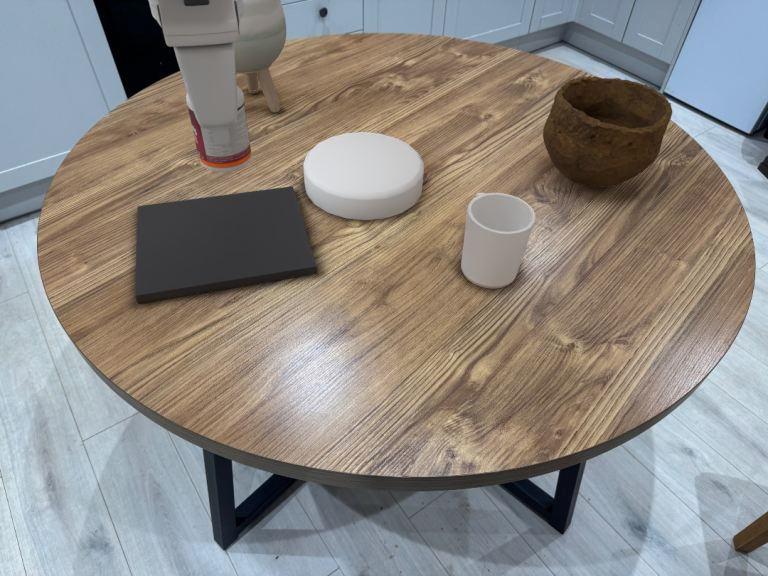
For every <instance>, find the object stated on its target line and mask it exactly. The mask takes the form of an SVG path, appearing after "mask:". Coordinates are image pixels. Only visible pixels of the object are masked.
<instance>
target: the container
mask: <svg viewBox="0 0 768 576" xmlns="http://www.w3.org/2000/svg"><path fill="white" fill-rule="evenodd" d="M302 166H303V167H302V169H303V181H304V188H305V193H306V196H307V197H308V198H309V200H310V201H311V202H312V203H313V205H315V206H316V207H318V208H319V209H321V210H323V211H324V212H326V213H327V214H330V215H333V216H336V217H340V218H343V219H347V220H350V219H351V220H357V221H373V220H374V221H375V220H383V219H387V218H390V217H394V216H397V215H400V214H403V213H404V212H406V211H407V210H409V209H410V208H412V207H413V206H415V205H416V203H417V202H418V201H419V199H420V197H421V196H422V191H423V183H424V175H425V163H424V161H423V159H422V156H421V155H420V153H419V152H418V151H417V150H416V149H414V148H413V147H412V146H411V145H410V144H408V143H407V142H405V141H403V140H401V139H398V138H396V137H394V136H390V135H387V134H383V133H379V132H366V131H358V132H346V133H341V134H338V135H333V136H331V137H329V138H326V139H325V140H322V141H320V142H318V143H316V145H315V146H313V148H311V149H310V150H309V151H308V153H307V154H306V157H305V158H304V161H303V164H302Z"/></svg>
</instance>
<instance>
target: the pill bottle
mask: <svg viewBox="0 0 768 576" xmlns="http://www.w3.org/2000/svg"><path fill="white" fill-rule="evenodd" d="M236 83H237V84H238V78H237V76H236ZM185 101H186V107H187V110H188V115H189V119H190V124H191V129H192V133H193V138H194V143H195V147H196V152H197V156H198V160H199V163H200V165H201V166H202V167H204V168H205V169H206V170H208V171H211V172H215V173H231V172H235V171H238V170H241V169H243V168H244V167H246V166H248V164H249V163H250V161H251V160H252V147H251V140H250V132H249V128H248V127H249V125H248V118H247V112H246V104H245V97H244V92H243V91H242V88H240V87H239V85H237V122H236V124H235V125H233V126H229V134H230V142H229V143H228V144H219V145H217V144H215V143H214V142H213V137H212V132H211V129H210V128H202V127H201V126H200V125H199V123H198V121H197V119H196V117H195V114H194V111H193V108H192V105H191V102H190V99H189V96H188V93H187V92H186V95H185Z"/></svg>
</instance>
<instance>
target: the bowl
mask: <svg viewBox="0 0 768 576" xmlns="http://www.w3.org/2000/svg"><path fill="white" fill-rule="evenodd" d="M671 104H672V103H671V102H669V100H668V99H667V97H666V96H665V95H664V94H662V92H659V91H658V90H657V89H655V88H654V87H652V86H648V85H647V84H643V83H641V82H638V81H633V80H629V79H621V78H619V77H614V78H612V77H611V78H607V77H599V76H590V75H589V76H585V75H584V76H578V77H576V78H575V77H574V78H572V79H569V80H568V81H566V82H565V83H564V84H563V85H562V86H560V88H559V89H557V92H556V93H555V95H554V99H553V103H552V104H551V108H550V111H549V113H548V116H547V117H546V120H545V123H544V126H543V128H542V129H543V131H542V139H543V143H544V146H545V149H546V152H547V154H548V156H549V159H550V161H551V163H552V164H553V166H554V167H555V169H556V170H557V171H558V172H559V173H560V174H561V175H563V176H564V177H565V178H567V179H568V180H569V181H570V182H572V183H574V184H577V185H581V186H584V187H588V188H609V187H615V186H620V185H622V184H623V183H627V182H628V181H630V180H632V179H634V178H636V177H637V176H639V175H640V174H642V173H643V172H644V171H646V170H647V169H648V168H649V167H650V166H652V164H654V162H655V161H656V159H657V157H658V156H659V155H660V153H661V147H662V144H663V140H664V136H665V134H666V131H667V129H668V125H669V123H670V122H671V119H672V116H673V108H672V105H671Z"/></svg>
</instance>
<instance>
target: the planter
mask: <svg viewBox="0 0 768 576" xmlns="http://www.w3.org/2000/svg"><path fill="white" fill-rule="evenodd" d="M243 2H244V13H243V14H242V16H241V19H240V22H239V32H240V34H239V37H240V39H239V41H238V42H234V43H235V63H236V76H237V75H238V74H241V75H244V78H245V82H246V87H247V90H248V89H249V90H248V93H250V94H253V95H255V94H257V93H259V85H260V88H261V90H262V92H263V95H264V98H265V101H266V103H267V106H268V109H269V111H270V112H271V113H275V114H276V113H279V112H280V111H281V105H280V101H279V97H278V95H277V91H276V89H275V85H274V82H273V77H272V74H271V70H270V67H271V66H272V65H273V64H274V62H276V61H277V59H278V58H279V56H280V55H281V53H282V52H283V50H284V47H285V44H286V41H287V21H286V16H285V11H284V7H283V4H282V2H281V0H243ZM257 89H258V90H257ZM250 90H251V91H250ZM253 90H256V91H253Z"/></svg>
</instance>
